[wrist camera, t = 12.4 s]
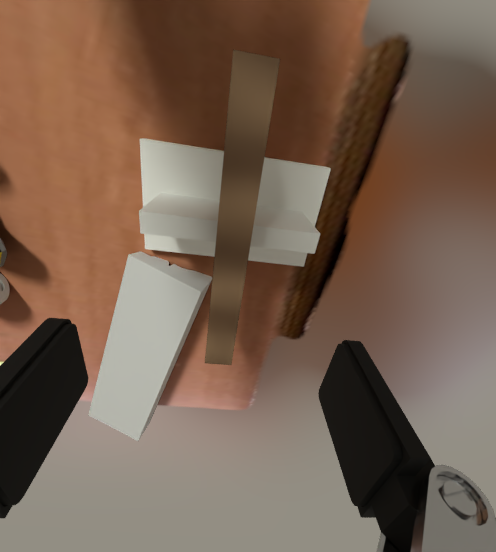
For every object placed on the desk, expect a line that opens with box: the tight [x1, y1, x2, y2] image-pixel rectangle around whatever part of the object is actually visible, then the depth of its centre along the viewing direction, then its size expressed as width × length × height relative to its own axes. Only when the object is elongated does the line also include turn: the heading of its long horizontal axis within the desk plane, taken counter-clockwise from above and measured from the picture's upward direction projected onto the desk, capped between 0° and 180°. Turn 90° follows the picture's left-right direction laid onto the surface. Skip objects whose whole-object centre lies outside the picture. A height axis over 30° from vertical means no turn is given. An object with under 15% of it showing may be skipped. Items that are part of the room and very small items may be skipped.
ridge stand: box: [139, 138, 331, 267], centre depth 27 cm, size 12×20×9 cm, turn 82°
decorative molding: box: [89, 251, 212, 441], centre depth 41 cm, size 34×5×10 cm
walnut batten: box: [205, 50, 280, 365], centre depth 22 cm, size 24×3×4 cm, turn 172°
